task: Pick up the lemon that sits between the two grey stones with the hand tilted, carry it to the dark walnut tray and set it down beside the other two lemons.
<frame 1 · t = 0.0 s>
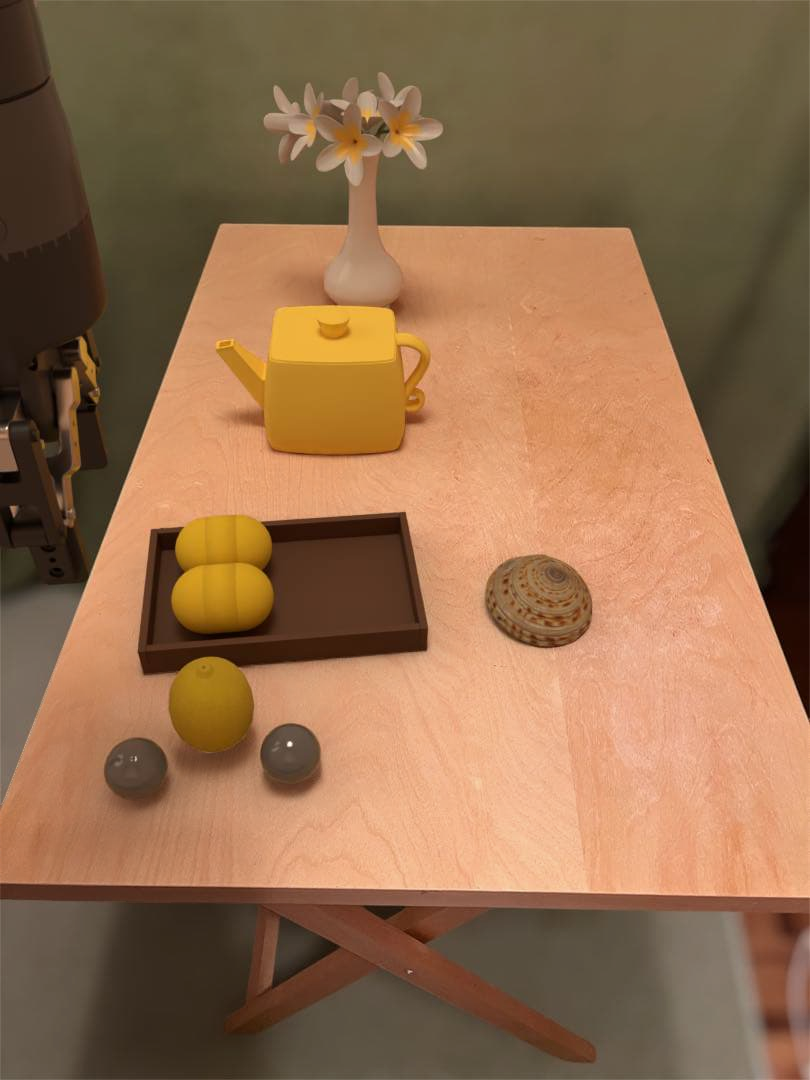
hand: (78, 518, 46), 23 cm above the table, tool pointing down, fingers open, 8 cm apart
lemon a: (226, 621, 71), point 1 cm above the table, touching tray
lemon: (218, 741, 64), on the table
lemon b: (227, 571, 75), point 1 cm above the table, touching tray
teapot: (327, 421, 91), on the table
flower vase: (357, 309, 108), on the table
tray: (284, 598, 73), on the table
stone right: (292, 770, 62), on the table
stone left: (141, 785, 61), on the table
seashell: (535, 607, 73), on the table
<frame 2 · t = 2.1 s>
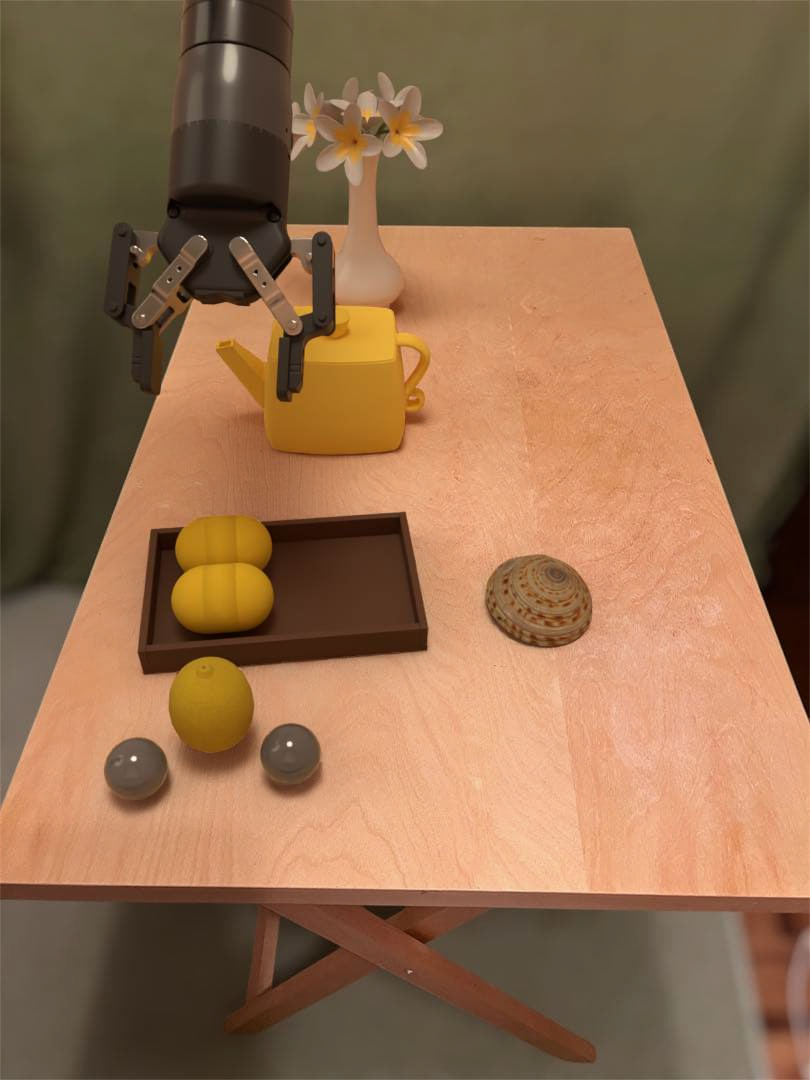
hand: (217, 396, 58), 21 cm above the table, tool tilted 45°, fingers open, 8 cm apart
nothing on the table moved.
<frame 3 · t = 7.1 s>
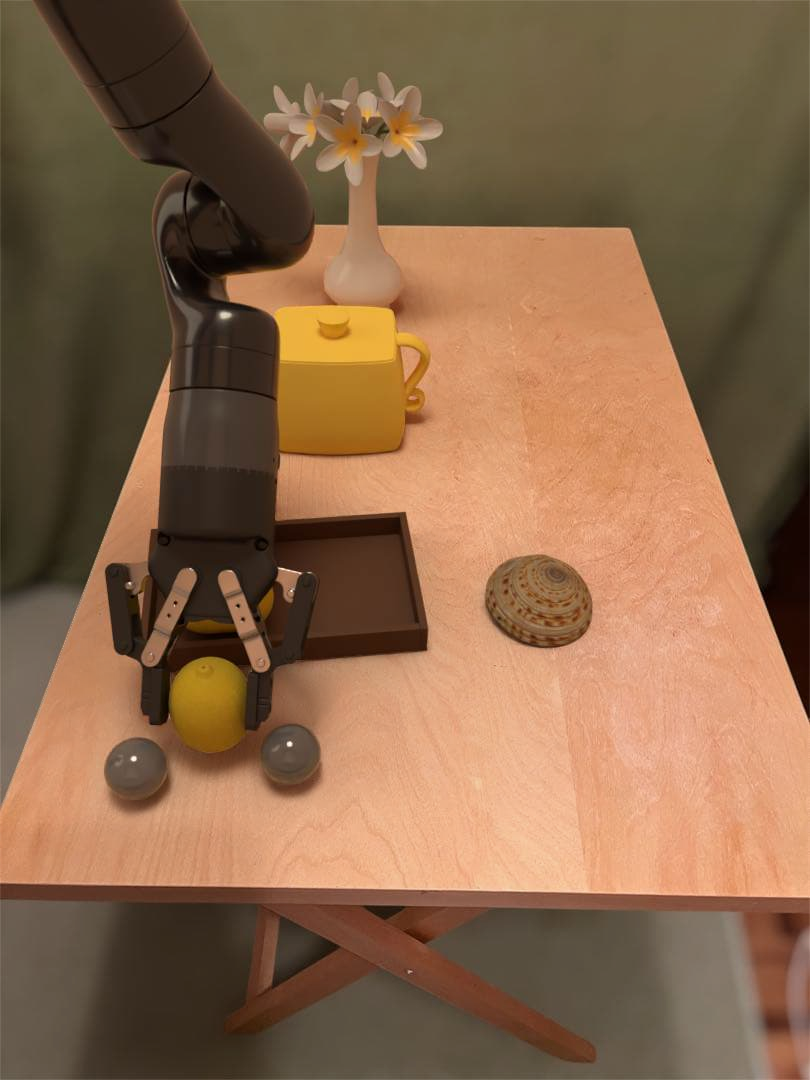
hand: (206, 725, 59), 4 cm above the table, tool tilted 45°, fingers closed on lemon, 5 cm apart
lemon: (218, 741, 64), on the table, touching gripper
everything else where it was.
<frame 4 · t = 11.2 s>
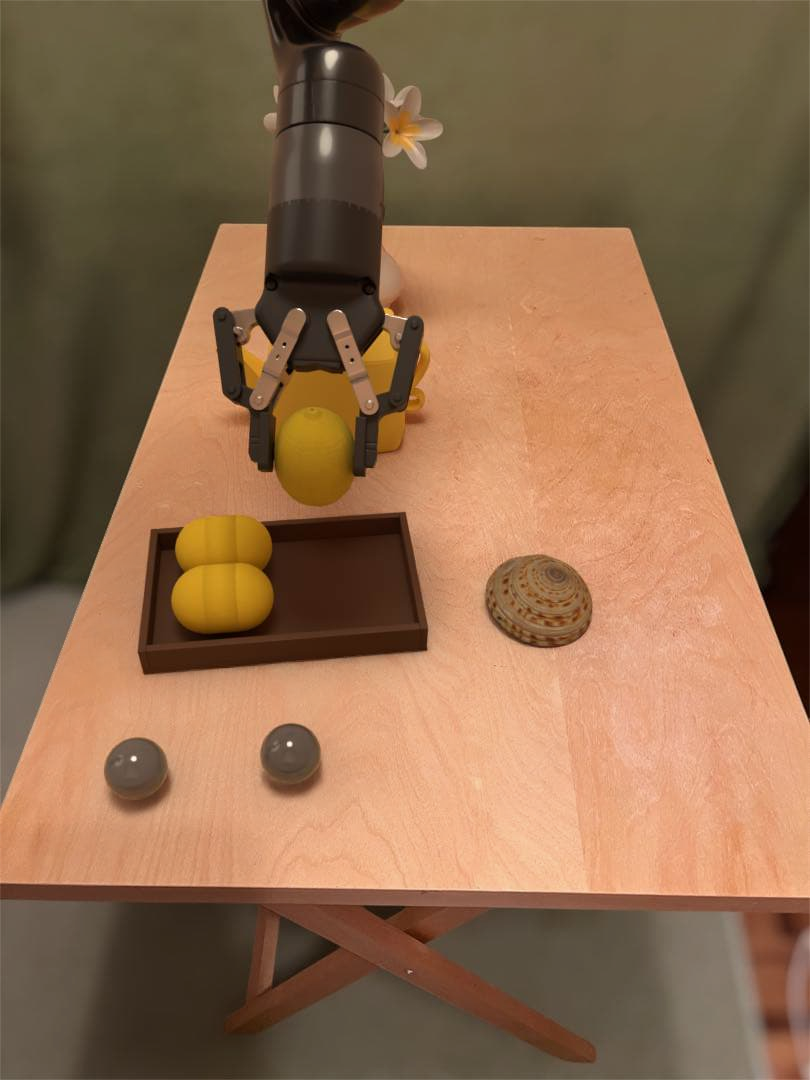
hand: (312, 472, 59), 16 cm above the table, tool tilted 45°, fingers closed on lemon, 5 cm apart
lemon: (318, 505, 64), point 12 cm above the table, touching gripper
everything else where it was.
when the fingers open (5 cm above the table, at t = 15.2 s): lemon stays where it is, resting on tray.
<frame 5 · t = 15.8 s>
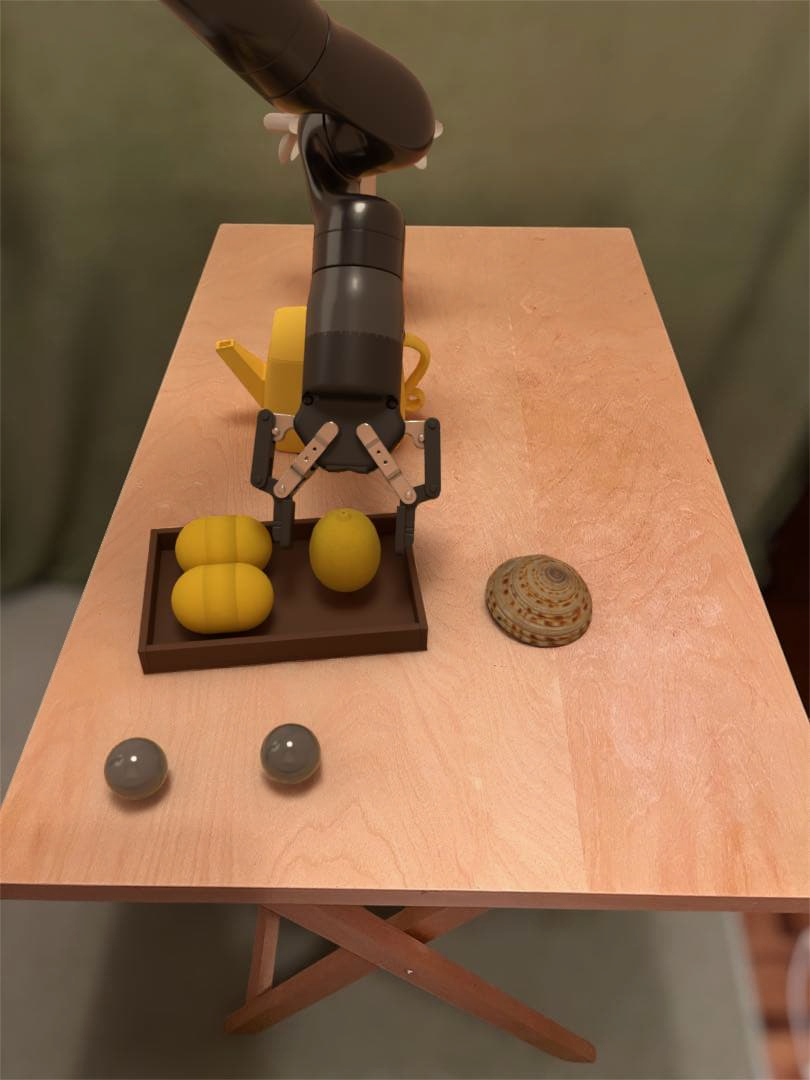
hand: (343, 552, 69), 6 cm above the table, tool tilted 45°, fingers open, 8 cm apart
lemon: (346, 588, 74), resting on tray
everything else where it was.
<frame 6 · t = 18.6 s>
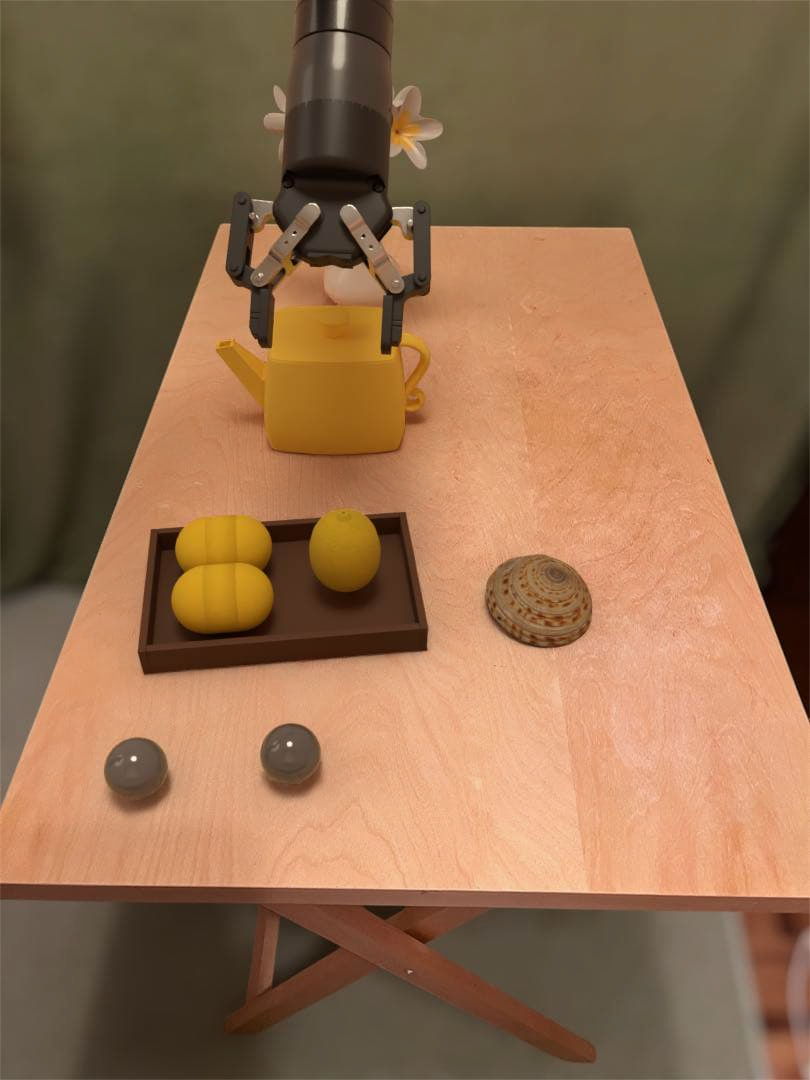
hand: (325, 349, 64), 20 cm above the table, tool tilted 45°, fingers open, 8 cm apart
nothing on the table moved.
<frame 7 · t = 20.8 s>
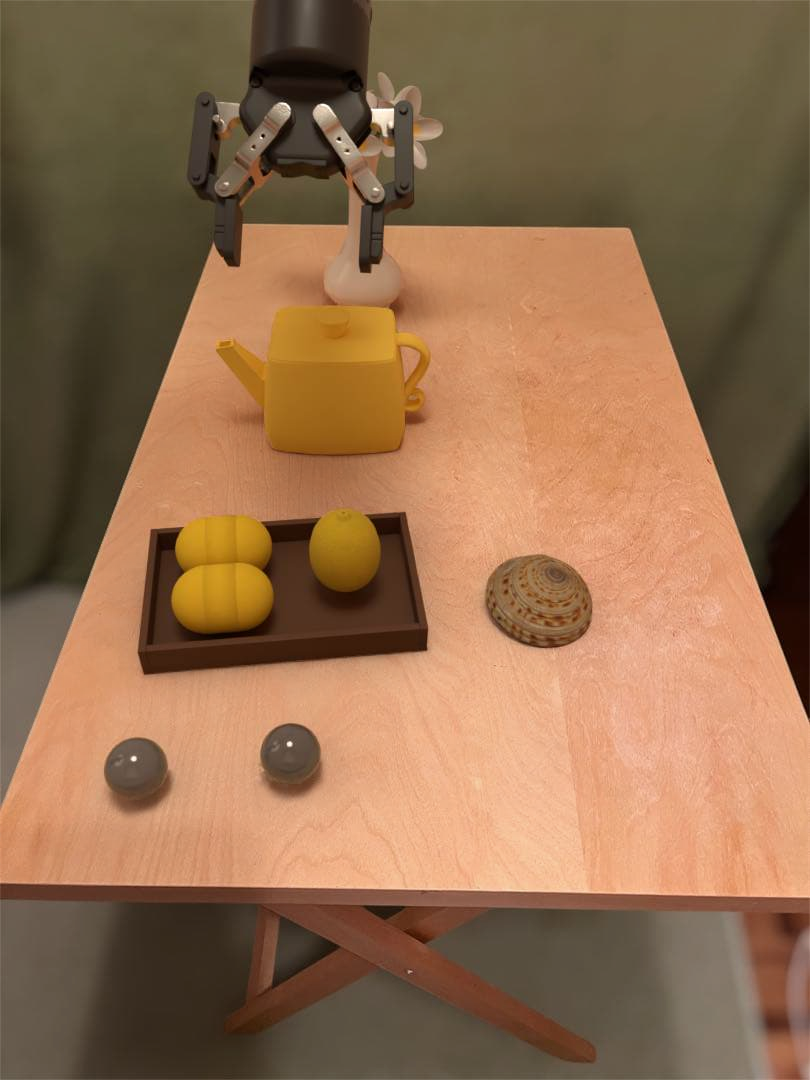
hand: (298, 266, 58), 27 cm above the table, tool tilted 45°, fingers open, 8 cm apart
nothing on the table moved.
at the end: lemon inside the target area in the tray (5.0 cm from its centre), point 0.4 cm above the tray's base; the gripper is holding nothing; teapot moved 0.2 cm from its start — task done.
